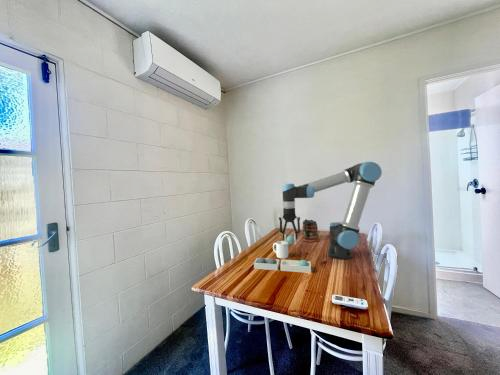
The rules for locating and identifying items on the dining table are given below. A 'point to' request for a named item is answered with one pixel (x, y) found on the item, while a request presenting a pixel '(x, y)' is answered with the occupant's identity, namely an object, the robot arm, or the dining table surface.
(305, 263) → the teal ball in tray
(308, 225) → the beer stein
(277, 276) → the dining table surface
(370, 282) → the dining table surface
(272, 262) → the charcoal ball
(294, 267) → the tray cream
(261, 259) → the charcoal ball
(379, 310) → the dining table surface
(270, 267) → the tray grey
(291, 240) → the teal ball
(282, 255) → the cup
